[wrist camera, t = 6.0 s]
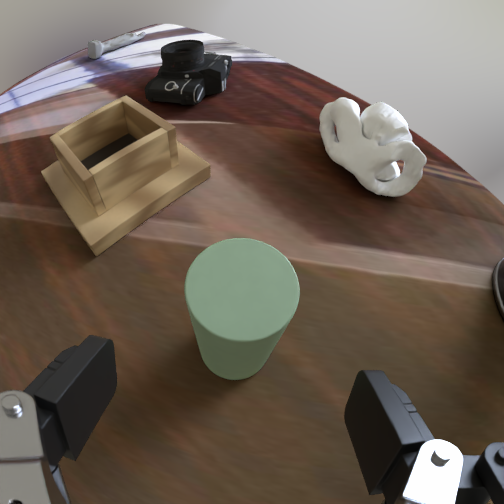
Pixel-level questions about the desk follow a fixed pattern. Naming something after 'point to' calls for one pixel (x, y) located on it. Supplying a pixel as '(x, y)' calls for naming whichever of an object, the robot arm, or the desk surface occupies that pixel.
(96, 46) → the figurine
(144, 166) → the display stand
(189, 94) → the film camera
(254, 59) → the desk surface
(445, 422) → the desk surface
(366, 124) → the white looped sculpture
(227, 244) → the green tall cylinder
